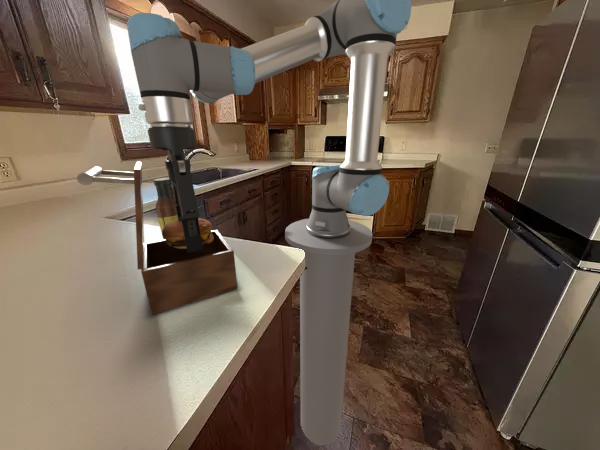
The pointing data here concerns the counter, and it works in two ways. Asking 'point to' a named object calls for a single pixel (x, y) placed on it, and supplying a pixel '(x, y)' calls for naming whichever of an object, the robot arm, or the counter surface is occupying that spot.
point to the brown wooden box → (187, 273)
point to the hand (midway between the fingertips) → (191, 241)
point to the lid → (94, 176)
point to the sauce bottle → (165, 202)
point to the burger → (176, 235)
